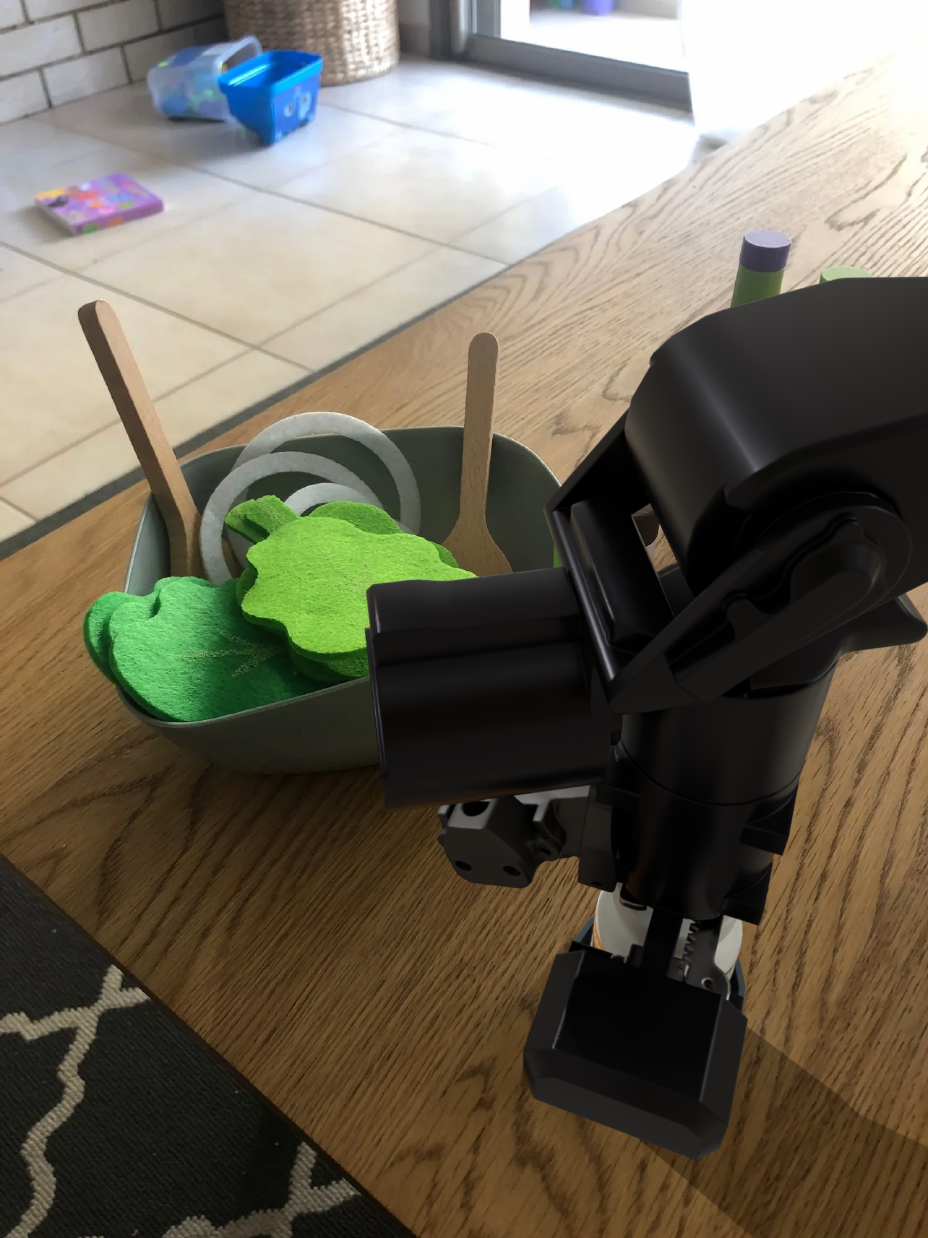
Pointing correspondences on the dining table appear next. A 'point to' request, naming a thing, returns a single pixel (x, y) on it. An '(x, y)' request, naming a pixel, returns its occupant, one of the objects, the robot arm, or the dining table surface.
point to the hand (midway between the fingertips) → (659, 970)
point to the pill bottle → (630, 926)
